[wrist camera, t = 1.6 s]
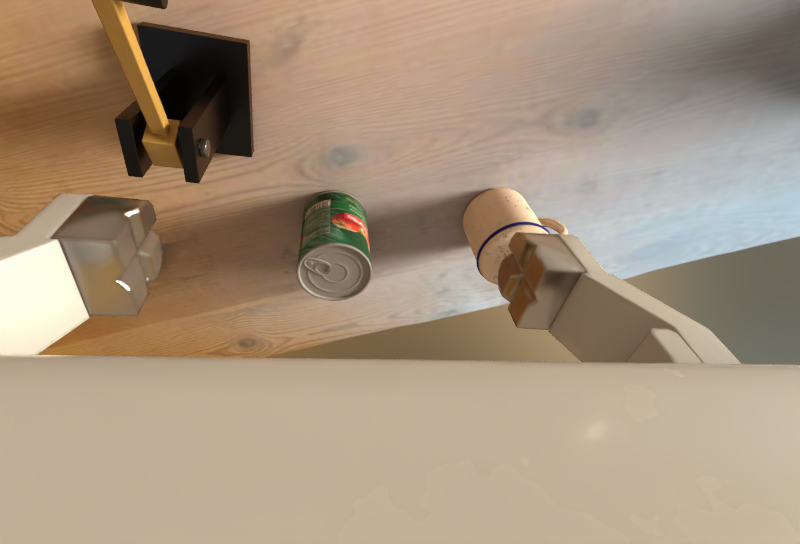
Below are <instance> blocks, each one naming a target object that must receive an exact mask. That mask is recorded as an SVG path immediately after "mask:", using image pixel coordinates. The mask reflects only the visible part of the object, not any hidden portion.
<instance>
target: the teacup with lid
mask: <svg viewBox="0 0 800 544" xmlns="http://www.w3.org/2000/svg"><path fill="white" fill-rule="evenodd" d="M545 227H549V228H551V229H553V230H555V231H557V232H558V233H559V234H562V235H567V233H568V232H567V229H566V227H565V226H564V225H563V224H562V223H560V222H558V221H556V220H554V219H551V218H546V217H538V218H537V217H536V216H535V214H534V213H533V211H532V210H531V209H530V207H529V206H528V204H527V203H526V201H525V200H524V198H523V197H522V196H521V195H520V194H519V193H517V192H516V191H514V190H511V189H506V188H497V189H492V190H489V191H486V192H484V193H482V194H480V195H479V196H477V197H476V198H475V199H474V200H473V201H472V202H471V203H470V204H469V205H468V207H467V208H466V210H465V213H464V216H463V229H464V231H465V234H466V236H467V239H468V241H469V243H470V246H471V248H472V251H473V253H474V255H475V258H476V260H477V267H478V270H479V272H480V274H481V275H482V276H483V277H484V278H485V279H486V280H488V281H489V282H491V283H494V284H496V285H498V270H499V268H500V265H501V262H502V260H503V259H505V258H506V257H507V256H508V255H510V254H511V252H510V250H509V247H508V245H509V243H510V241H511V238H512V237H513V236H514V234H515V233H516V232H524V233H542V234H550V232H549V231H548V230H547V229H546V228H545Z"/></svg>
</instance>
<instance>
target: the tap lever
mask: <svg viewBox="0 0 800 544" xmlns="http://www.w3.org/2000/svg"><path fill="white" fill-rule="evenodd" d="M122 1H123V2H129V3H134V4H139V5H145V6H150V7H156V8H161V9H166V8H167V4H168V0H92V2H93V5H94V7H95V9H96V11H97V13H98V16H99V18H100V20H101V22H102V25H103V27H104V29H105V31H106V33H107V36H108V38H109V40H110V42H111V44H112V47H113V49H114V51H115V53H116V56H117V58H118V60H119V62H120V64H121V67H122V69H123V71H124V73H125V75H126V78H127V80H128V82H129V84H130V86H131V89H132V91H133V93H134V95H135V98H136V100H137V102H138V104H139V106H140V109H141V111H142V113H143V115H144V117H145V120H146V122H147V125H146V128H145V131H144V135H143V138H142V143H143V145H144V147H145V149H146V151H147V153H148V155H149V157H150V159H151V161H152V163H153V165H155V166H164V167H173V168H182V169H183V161H182V154H181V148H180V141H179V135H178V128H177V127H178V126H179V124H180V123H181V121H179V120H172V119H167V117H166V114H165V111H164V109H163V106H162V104H161V101H160V99H159V96H158V93H157V91H156V88H155V86H154V83H153V80H152V78H151V75H150V73H149V70H148V67H147V65H146V62H145V60H144V57H143V55H142V52H141V49H140V47H139V44H138V42H137V39H136V36H135V34H134V31H133V29H132V26H131V23H130V21H129V18H128V16H127V13H126V11H125V8H124V5H123V3H122Z"/></svg>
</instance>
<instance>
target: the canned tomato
mask: <svg viewBox="0 0 800 544" xmlns="http://www.w3.org/2000/svg"><path fill="white" fill-rule="evenodd" d="M371 277H372V267H371V259H370V249H369V238H368V227H367V215H366V211H365V208H364V206H363V205H362V203H361V202H360V201H359V200H358V199H357V198H356V197H354V196H353V195H351V194H349V193H346V192H343V191H325V192H322V193H320V194H318V195H316V196H314V197H313V198H312V199H311V200H310V201H309V202H308V203H307V205H306V207H305V209H304V213H303V223H302V232H301V241H300V250H299V259H298V266H297V278H298V281H299V283H300V285H301V286H302V288H303V289H304V290H305V291H306V292H308V293H309V294H311V295H312V296H315V297H317V298H320V299H323V300H330V301H340V300H345V299H349V298H352V297H354V296H356V295H358V294H359V293H361V292H362V291H363V290H364V289H365V288H366V287H367V286H368V284H369V282H370V280H371Z"/></svg>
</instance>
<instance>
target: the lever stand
mask: <svg viewBox="0 0 800 544" xmlns="http://www.w3.org/2000/svg"><path fill="white" fill-rule="evenodd" d="M137 27H138V33H139V38H140V44H141V49H142V54H143V57H144V60H145V62H146V65H147V67H148V70H149V73H150V75H151V78H152V80H153V83H154V86H155V88H156V91H157V93H158V96H159V99H160V101H161V104H162V106H163V109H164V111H165V114H166V117H167V119H172V120H179V121H181V123H180V124H179V126H178V127H177V128H178V135H179V141H180V148H181V154H182V161H183V168H184V174H185V181H186V182H191V183H199V182H200V180H201V178H202V176H203V175H204V173H205V171H206V169H207V167H208V165H209V163H210V161H211V159H212V157H213V155H214V153H220V154H229V155H237V156H245V157H252V155H253V152H254V148H253V121H252V94H251V67H250V41H249V40H243V39H238V38H232V37H226V36H221V35H215V34H209V33H203V32H198V31H192V30H186V29H181V28H175V27H169V26H164V25H158V24H152V23H146V22H142V23H140V24H138V25H137ZM115 123H116V127H117V131H118V135H119V140H120V144H121V147H122V151H123V155H124V159H125V164H126V168H127V172H128V175H129V176H134V177H143V176H144V175H145V173H146V172H147V170H148V169H149V168H150V166H151V165H152V164H153V163H152V161H151V159H150V157H149V155H148V153H147V151H146V149H145V147H144V145H143V143H142V138H143V135H144V131H145V128H146V125H147V122H146V120H145V117H144V115H143V113H142V111H141V109H140V106H139V104H138V102H137V100H135V101H134V102H133V103H132V104H131V105H130V106H129V107H127V108H126V109H125V110H124V111H123V112H122V113H121V114H120V115H119V116H117V117H116V118H115Z"/></svg>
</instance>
